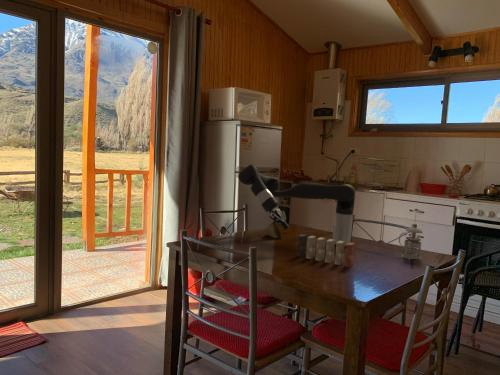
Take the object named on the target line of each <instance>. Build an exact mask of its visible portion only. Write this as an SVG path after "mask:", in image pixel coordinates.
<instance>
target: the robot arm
mask: <svg viewBox="0 0 500 375" xmlns="http://www.w3.org/2000/svg"><path fill="white" fill-rule="evenodd" d="M237 177H238V180H239V182H240V183H241V184H242V185H246V186H248V185H249V186H250V191H251V192H252V193H253V195H254V197H255V198H256V199H257V201H258V203H259V204H260V205H261V207H262V208H263V210H264V211H265V213H269V214H270V215H269V218H270V219H271V220H273V222H274V221H275V222H276V224H279V225H281V227H282V228H283V229H284V230H285V231H286V230H289V229H290V225H289V224H288V223H287V221H286V220H287V216H286V212H285V211H284V210H282V211H281V209H280V208H279V207H278V206H279V202H278V200H277V199H276V198H292V199H293V198H294V199H296V198H297V199H303V200H304V199H305V200H331V201H332V200H334V201H336V202H337V203H336V208H335V220H334V225H333V227H332V236H331V239H334V240H335V245H336V243H337V242H338V241H345V247H346V246H347V244H348V243H349V242H351V239H352V230H353V229H352V227H353V218H354V216H353V215H354V208H355V199H356V190H355V188H354V186H352V185H351V184H348V183H344V184H342V185H327V184H322V183H316V182H306V181H305V182H304V181H302V182H299V183H297V184H294V186H291V187H290V188H287V189H284V190H280V185H281V184H280V180H279V179H278V178H277V177H273V176H269V175H266V174H262V173H261V172H259V169H258V168H257V166H255V165H254V164H249V165H247V166H246V167H245V168H244V169H243V170H241V171H240V172H239V173H238V176H237Z"/></svg>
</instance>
